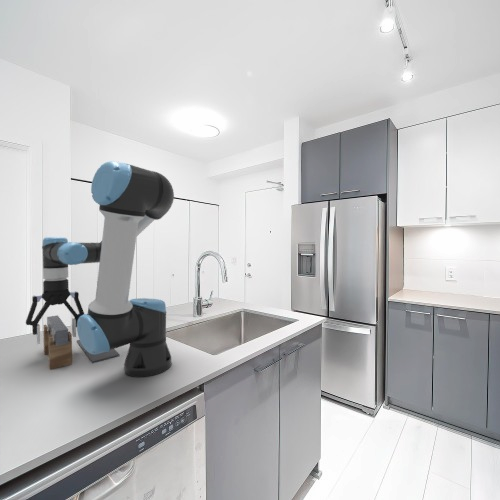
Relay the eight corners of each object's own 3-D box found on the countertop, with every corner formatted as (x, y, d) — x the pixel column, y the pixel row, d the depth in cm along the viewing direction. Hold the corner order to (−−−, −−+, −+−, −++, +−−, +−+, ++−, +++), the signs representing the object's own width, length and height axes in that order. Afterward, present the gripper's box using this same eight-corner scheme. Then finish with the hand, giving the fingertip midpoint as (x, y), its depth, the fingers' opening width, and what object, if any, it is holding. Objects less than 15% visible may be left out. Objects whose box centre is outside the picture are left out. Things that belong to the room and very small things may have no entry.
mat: (119, 355, 101) (119, 354, 101) (92, 363, 95) (92, 361, 95) (100, 336, 121) (100, 335, 121) (76, 341, 115) (76, 340, 115)
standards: (72, 363, 94) (71, 334, 94) (50, 369, 90) (49, 338, 89) (63, 347, 109) (62, 321, 108) (43, 351, 104) (43, 325, 104)
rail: (68, 343, 91) (68, 329, 91) (55, 346, 89) (55, 331, 89) (57, 327, 109) (57, 315, 109) (47, 329, 107) (46, 316, 107)
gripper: (88, 275, 109) (89, 330, 109) (14, 281, 94) (15, 344, 94) (93, 277, 103) (94, 334, 104) (15, 283, 88) (16, 350, 89)
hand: (56, 339), depth 99 cm, fingers open, 10 cm apart
